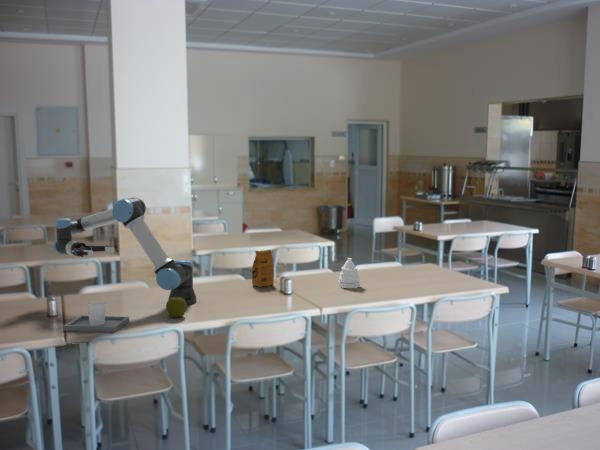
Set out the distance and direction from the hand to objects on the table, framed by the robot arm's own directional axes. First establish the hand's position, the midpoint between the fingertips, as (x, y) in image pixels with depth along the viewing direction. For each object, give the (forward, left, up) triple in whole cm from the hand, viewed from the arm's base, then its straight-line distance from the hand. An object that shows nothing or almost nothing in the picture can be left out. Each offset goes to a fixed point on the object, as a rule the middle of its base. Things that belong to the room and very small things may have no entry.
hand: (103, 251), depth 312 cm
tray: (-9, +29, -31) cm, 43 cm away
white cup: (-9, +29, -30) cm, 43 cm away
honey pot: (-125, -69, -31) cm, 146 cm away
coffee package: (-72, -67, -31) cm, 103 cm away
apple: (-41, +9, -31) cm, 52 cm away
